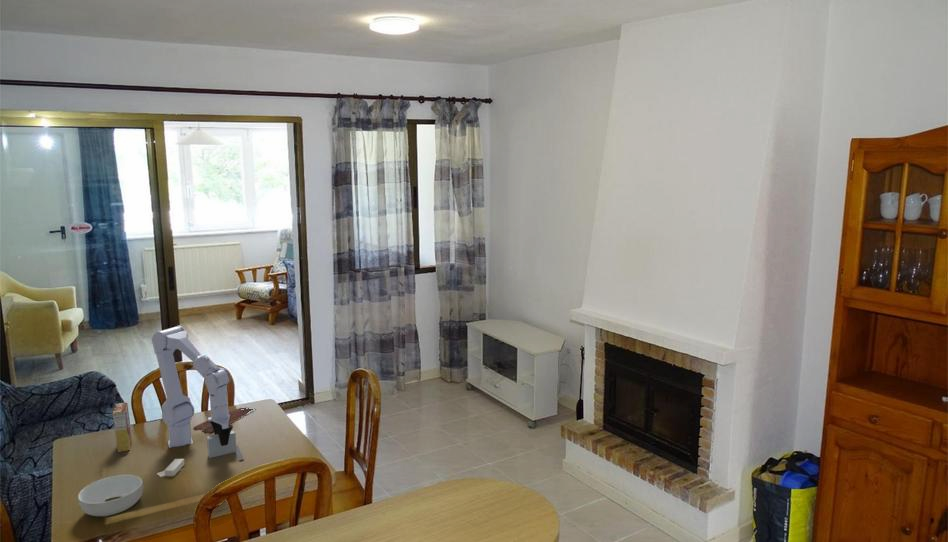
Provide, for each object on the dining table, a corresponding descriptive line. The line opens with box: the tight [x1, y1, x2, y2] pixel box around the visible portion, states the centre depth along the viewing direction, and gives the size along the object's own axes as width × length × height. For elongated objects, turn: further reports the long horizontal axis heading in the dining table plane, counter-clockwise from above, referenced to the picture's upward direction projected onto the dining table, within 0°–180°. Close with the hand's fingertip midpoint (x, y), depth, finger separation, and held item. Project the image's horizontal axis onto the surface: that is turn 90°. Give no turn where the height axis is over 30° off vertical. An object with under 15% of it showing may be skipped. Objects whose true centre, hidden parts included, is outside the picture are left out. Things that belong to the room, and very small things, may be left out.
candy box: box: [112, 402, 133, 453], centre depth 233 cm, size 9×4×15 cm, turn 23°
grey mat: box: [235, 445, 245, 462], centre depth 226 cm, size 12×12×1 cm
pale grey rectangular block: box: [206, 430, 237, 459], centre depth 226 cm, size 2×9×8 cm, turn 124°
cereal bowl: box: [77, 474, 144, 517], centre depth 192 cm, size 17×17×7 cm
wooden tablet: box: [192, 407, 253, 434], centre depth 259 cm, size 26×2×10 cm
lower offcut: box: [156, 468, 184, 478], centre depth 214 cm, size 4×10×2 cm, turn 136°
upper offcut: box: [163, 458, 185, 477], centre depth 214 cm, size 3×8×2 cm, turn 1°
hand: (221, 441), depth 225 cm, fingers open, 7 cm apart
